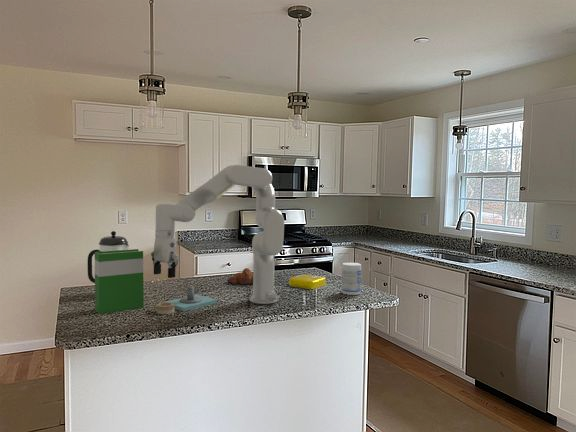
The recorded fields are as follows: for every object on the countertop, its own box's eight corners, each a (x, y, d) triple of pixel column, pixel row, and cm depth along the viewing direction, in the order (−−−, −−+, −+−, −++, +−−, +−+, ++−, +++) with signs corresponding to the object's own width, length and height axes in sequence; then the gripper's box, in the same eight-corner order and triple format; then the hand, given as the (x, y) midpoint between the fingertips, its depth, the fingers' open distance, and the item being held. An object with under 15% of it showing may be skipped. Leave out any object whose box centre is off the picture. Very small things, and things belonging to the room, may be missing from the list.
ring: (177, 311, 183) (177, 304, 183) (163, 314, 177) (163, 307, 177) (167, 308, 187) (167, 301, 187) (153, 311, 182) (153, 304, 182)
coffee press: (124, 288, 221) (124, 228, 219) (134, 295, 208) (134, 231, 206) (87, 293, 211) (86, 230, 209) (95, 300, 198) (94, 233, 196)
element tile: (303, 281, 246) (303, 272, 246) (326, 285, 238) (327, 276, 237) (287, 286, 234) (288, 277, 234) (311, 290, 225) (312, 281, 225)
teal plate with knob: (216, 303, 197) (216, 285, 196) (183, 311, 183) (183, 292, 182) (196, 297, 205) (196, 280, 205) (163, 305, 191) (163, 287, 191)
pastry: (249, 278, 251) (249, 264, 250) (269, 282, 241) (269, 268, 240) (226, 283, 238) (226, 268, 237) (246, 287, 228) (246, 272, 227)
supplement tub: (361, 296, 213) (362, 265, 213) (341, 295, 214) (342, 265, 213) (360, 291, 223) (360, 262, 222) (341, 290, 224) (341, 261, 223)
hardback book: (138, 303, 194) (137, 249, 192) (143, 307, 188) (143, 251, 186) (95, 309, 184) (94, 252, 182) (99, 313, 178) (98, 254, 176)
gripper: (185, 235, 177) (185, 277, 178) (160, 231, 188) (159, 271, 189) (170, 236, 172) (169, 280, 173) (144, 232, 183) (144, 273, 184)
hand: (164, 275), depth 181 cm, fingers open, 9 cm apart
